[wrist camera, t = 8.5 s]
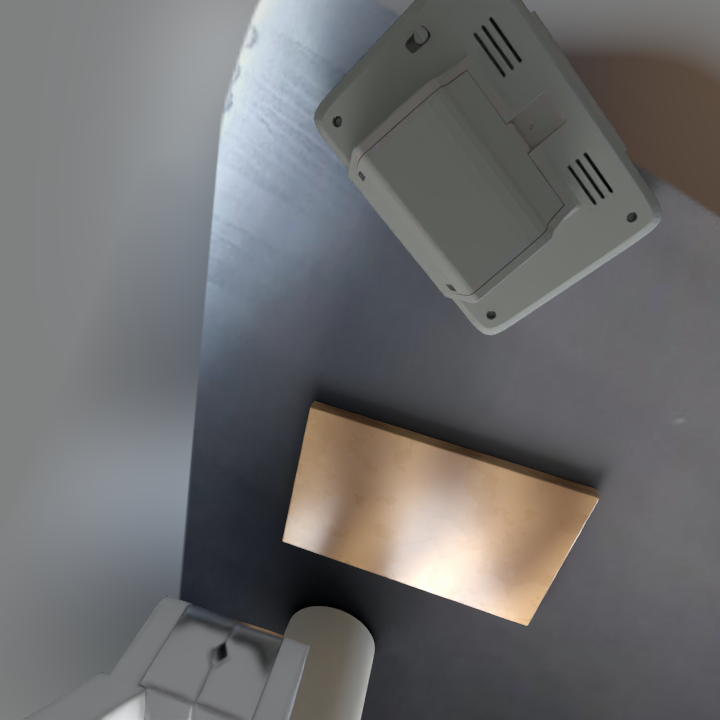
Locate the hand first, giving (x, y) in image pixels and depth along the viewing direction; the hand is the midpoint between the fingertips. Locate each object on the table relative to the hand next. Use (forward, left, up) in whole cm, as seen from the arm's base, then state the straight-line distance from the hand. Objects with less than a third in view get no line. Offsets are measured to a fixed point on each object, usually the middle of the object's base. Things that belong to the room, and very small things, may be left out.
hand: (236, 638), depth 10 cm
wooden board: (+6, -16, -24) cm, 29 cm away
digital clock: (-1, +4, -20) cm, 21 cm away
